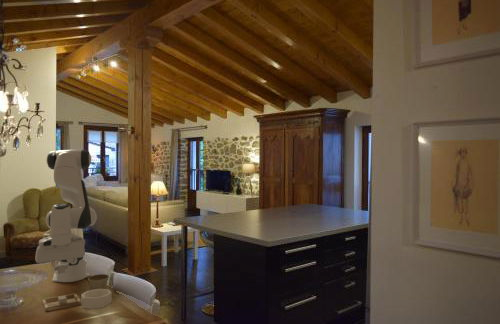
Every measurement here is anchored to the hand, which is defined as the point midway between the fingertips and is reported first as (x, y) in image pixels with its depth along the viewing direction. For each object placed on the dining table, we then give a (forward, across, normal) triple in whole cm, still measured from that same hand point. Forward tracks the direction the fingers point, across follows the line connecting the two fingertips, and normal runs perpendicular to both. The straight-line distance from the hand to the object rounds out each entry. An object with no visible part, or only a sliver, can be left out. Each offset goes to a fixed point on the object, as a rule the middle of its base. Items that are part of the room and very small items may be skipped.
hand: (60, 269), depth 170 cm
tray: (+15, 0, +3) cm, 16 cm away
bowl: (+15, -13, +12) cm, 23 cm away
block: (+15, 0, +5) cm, 16 cm away
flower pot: (+16, -17, -1) cm, 23 cm away
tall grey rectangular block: (+1, 0, 0) cm, 1 cm away
